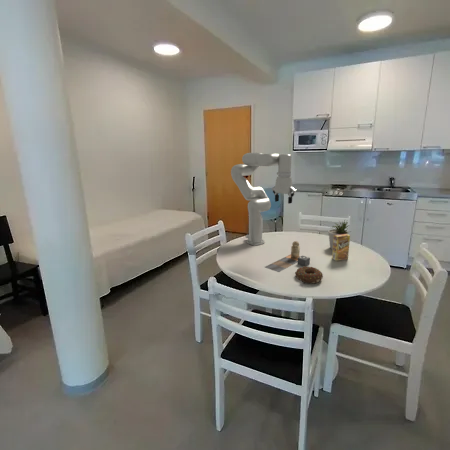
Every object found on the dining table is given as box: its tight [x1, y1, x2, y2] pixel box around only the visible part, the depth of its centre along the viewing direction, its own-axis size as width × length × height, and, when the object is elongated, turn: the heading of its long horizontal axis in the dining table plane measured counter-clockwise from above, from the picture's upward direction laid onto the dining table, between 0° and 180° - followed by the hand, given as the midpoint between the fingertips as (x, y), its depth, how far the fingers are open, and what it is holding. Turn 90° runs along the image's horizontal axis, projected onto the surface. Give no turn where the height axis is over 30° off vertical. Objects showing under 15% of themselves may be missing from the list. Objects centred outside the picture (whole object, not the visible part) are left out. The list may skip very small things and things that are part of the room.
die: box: [297, 255, 311, 267], centre depth 171 cm, size 5×5×5 cm
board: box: [264, 253, 301, 273], centre depth 174 cm, size 10×28×1 cm, turn 135°
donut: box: [294, 266, 324, 284], centre depth 154 cm, size 14×14×5 cm
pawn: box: [290, 240, 301, 259], centre depth 179 cm, size 5×5×10 cm
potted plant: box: [327, 219, 352, 250], centre depth 195 cm, size 13×14×20 cm
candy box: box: [331, 234, 351, 261], centre depth 178 cm, size 9×4×15 cm, turn 107°
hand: (283, 202), depth 184 cm, fingers open, 9 cm apart
